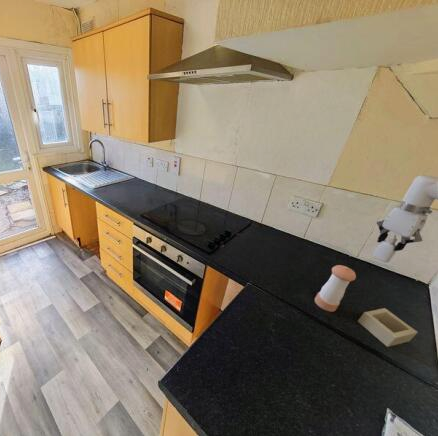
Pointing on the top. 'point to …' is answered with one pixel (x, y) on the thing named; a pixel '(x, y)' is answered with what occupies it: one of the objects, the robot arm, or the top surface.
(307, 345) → the top surface
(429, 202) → the robot arm
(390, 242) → the eye dropper bottle
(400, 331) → the socket block
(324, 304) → the salt shaker
